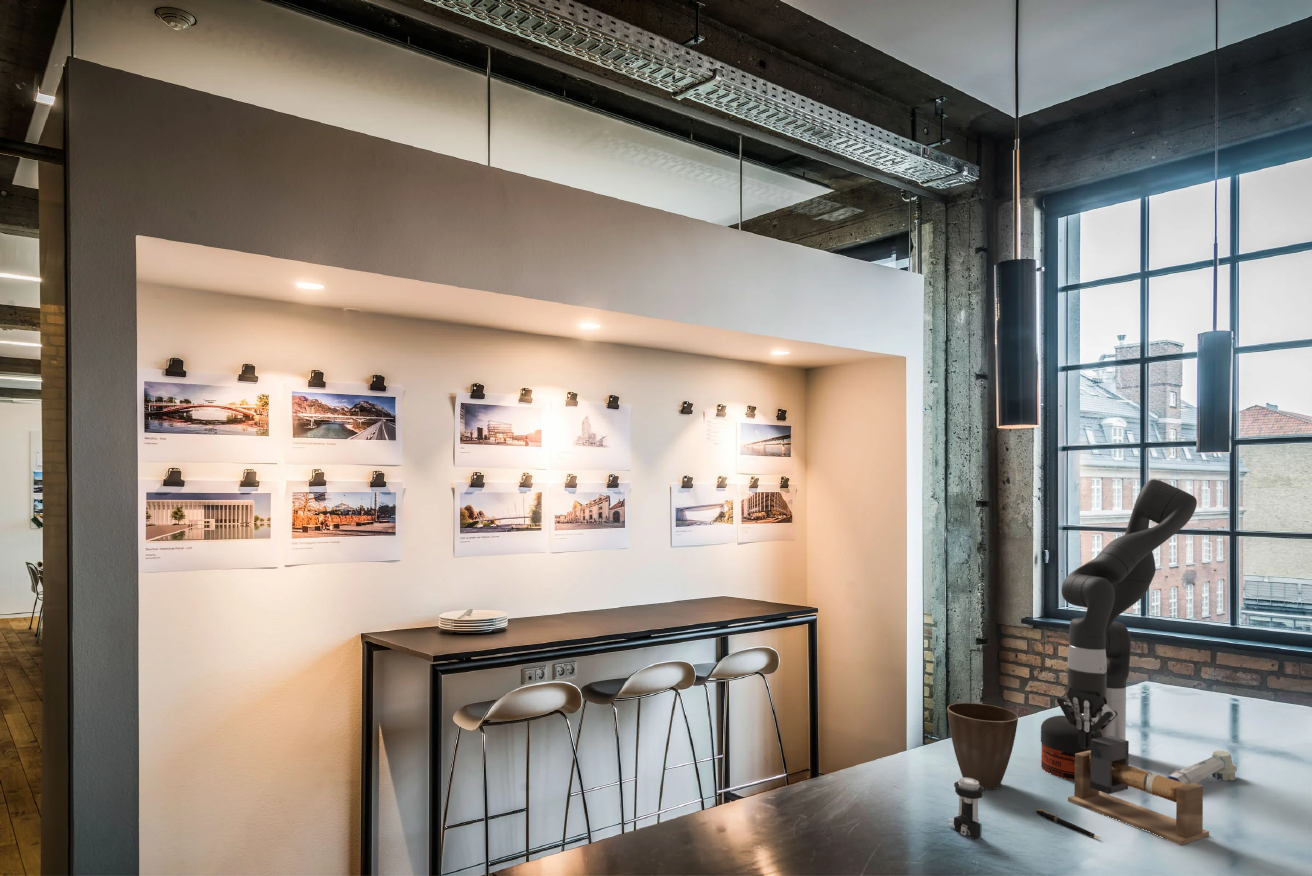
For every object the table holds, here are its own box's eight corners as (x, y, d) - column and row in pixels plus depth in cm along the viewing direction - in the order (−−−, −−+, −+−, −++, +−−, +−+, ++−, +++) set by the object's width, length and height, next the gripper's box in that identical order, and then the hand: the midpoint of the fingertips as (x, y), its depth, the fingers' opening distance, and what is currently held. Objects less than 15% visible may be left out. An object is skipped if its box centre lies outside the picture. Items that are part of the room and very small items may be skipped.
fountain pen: (1103, 842, 155) (1103, 834, 155) (1100, 843, 154) (1100, 835, 155) (1036, 813, 168) (1036, 806, 168) (1032, 814, 167) (1032, 806, 167)
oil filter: (1109, 773, 193) (1052, 758, 202) (1110, 721, 193) (1052, 708, 202) (1091, 786, 184) (1031, 770, 193) (1091, 731, 184) (1032, 717, 193)
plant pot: (934, 782, 182) (936, 710, 183) (961, 766, 193) (962, 698, 194) (1002, 802, 172) (1003, 725, 173) (1026, 784, 183) (1028, 712, 184)
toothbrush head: (1159, 772, 184) (1215, 742, 197) (1161, 801, 184) (1217, 769, 197) (1184, 780, 179) (1240, 748, 192) (1186, 809, 180) (1242, 776, 192)
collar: (1090, 787, 172) (1090, 739, 172) (1109, 782, 175) (1110, 735, 176) (1108, 794, 168) (1109, 745, 169) (1128, 789, 172) (1128, 741, 172)
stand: (1067, 801, 174) (1068, 754, 175) (1095, 793, 179) (1096, 748, 180) (1181, 845, 154) (1181, 792, 155) (1209, 835, 159) (1209, 784, 160)
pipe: (1085, 774, 174) (1085, 754, 174) (1096, 771, 176) (1097, 751, 176) (1178, 807, 158) (1179, 785, 158) (1190, 803, 160) (1190, 782, 160)
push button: (941, 829, 157) (942, 777, 158) (957, 823, 161) (958, 771, 161) (972, 842, 152) (973, 788, 153) (988, 835, 155) (989, 782, 156)
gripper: (1048, 662, 181) (1047, 741, 180) (1106, 675, 170) (1105, 760, 169) (1069, 659, 185) (1068, 736, 184) (1127, 672, 173) (1126, 755, 173)
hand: (1085, 747), depth 176 cm, fingers closed
